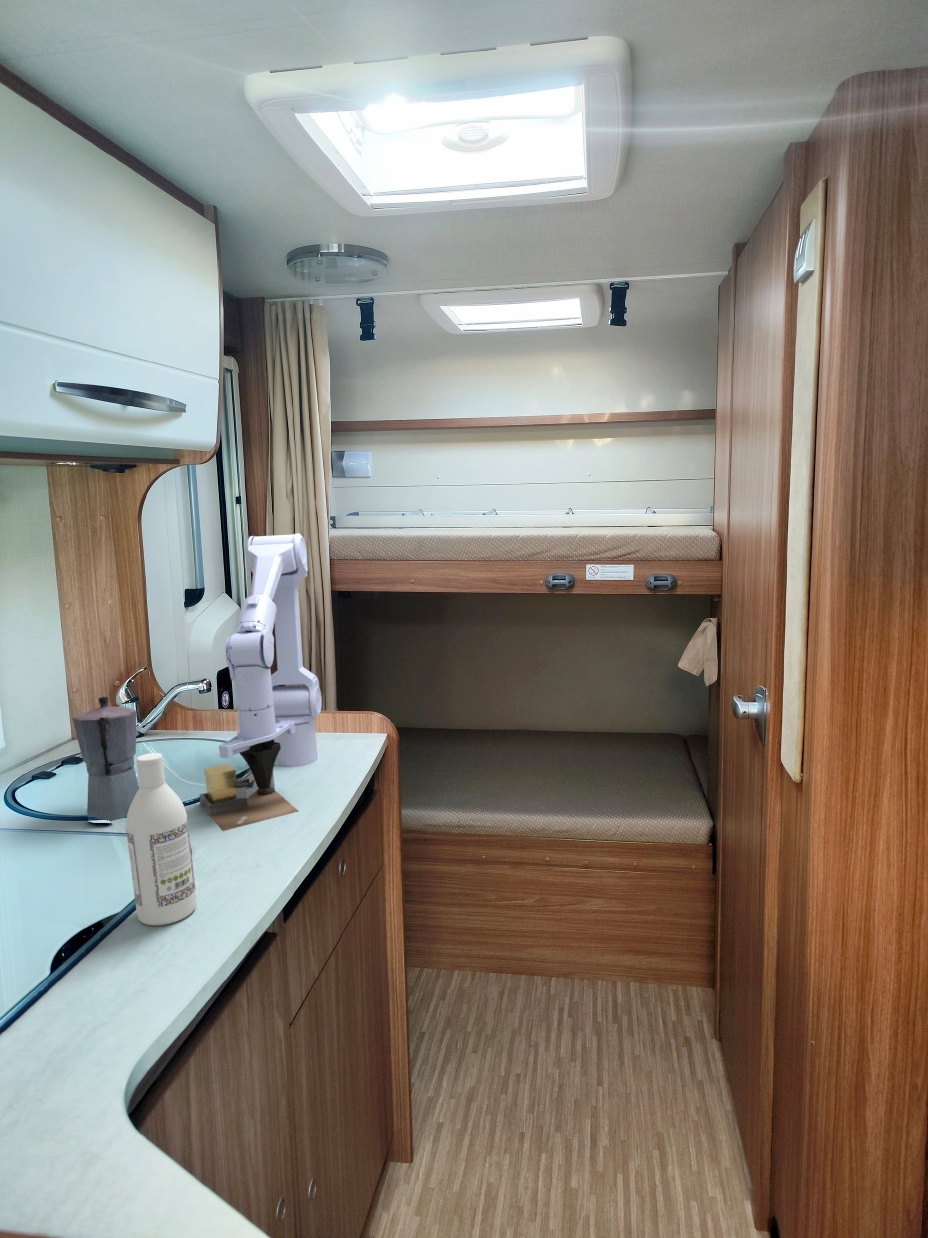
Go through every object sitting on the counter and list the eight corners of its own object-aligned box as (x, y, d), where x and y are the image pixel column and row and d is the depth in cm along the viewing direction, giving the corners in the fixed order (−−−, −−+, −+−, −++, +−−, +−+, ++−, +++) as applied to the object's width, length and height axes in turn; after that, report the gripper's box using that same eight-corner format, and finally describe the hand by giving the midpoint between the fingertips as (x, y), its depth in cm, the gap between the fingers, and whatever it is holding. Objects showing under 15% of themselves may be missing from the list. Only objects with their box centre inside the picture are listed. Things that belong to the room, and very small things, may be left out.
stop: (208, 803, 130) (204, 768, 129) (232, 798, 132) (228, 763, 131) (214, 811, 127) (210, 775, 126) (239, 805, 129) (235, 769, 128)
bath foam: (208, 900, 100) (191, 747, 97) (177, 929, 93) (158, 766, 90) (159, 897, 101) (141, 747, 98) (125, 926, 95) (104, 765, 92)
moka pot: (145, 796, 139) (132, 685, 136) (152, 826, 125) (137, 703, 122) (85, 808, 135) (70, 694, 132) (86, 840, 121) (69, 713, 118)
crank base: (201, 809, 131) (199, 794, 131) (271, 792, 137) (270, 778, 137) (223, 837, 119) (221, 820, 119) (299, 817, 125) (298, 801, 125)
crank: (261, 788, 136) (258, 760, 135) (277, 788, 136) (275, 759, 135) (232, 813, 125) (229, 783, 125) (250, 814, 125) (247, 783, 124)
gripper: (270, 693, 134) (278, 770, 136) (202, 715, 122) (211, 799, 124) (301, 697, 130) (308, 775, 132) (233, 720, 118) (242, 806, 120)
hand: (263, 787), depth 128 cm, fingers closed
